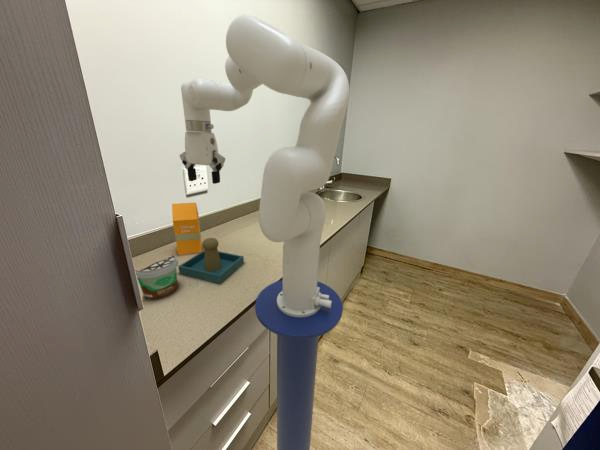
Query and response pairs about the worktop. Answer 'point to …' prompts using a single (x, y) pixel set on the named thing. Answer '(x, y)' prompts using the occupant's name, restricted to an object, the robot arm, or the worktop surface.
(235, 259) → the tray
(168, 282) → the food container
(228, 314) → the worktop surface
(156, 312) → the worktop surface
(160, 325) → the worktop surface
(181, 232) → the orange juice
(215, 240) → the olive tapered rounded piece
